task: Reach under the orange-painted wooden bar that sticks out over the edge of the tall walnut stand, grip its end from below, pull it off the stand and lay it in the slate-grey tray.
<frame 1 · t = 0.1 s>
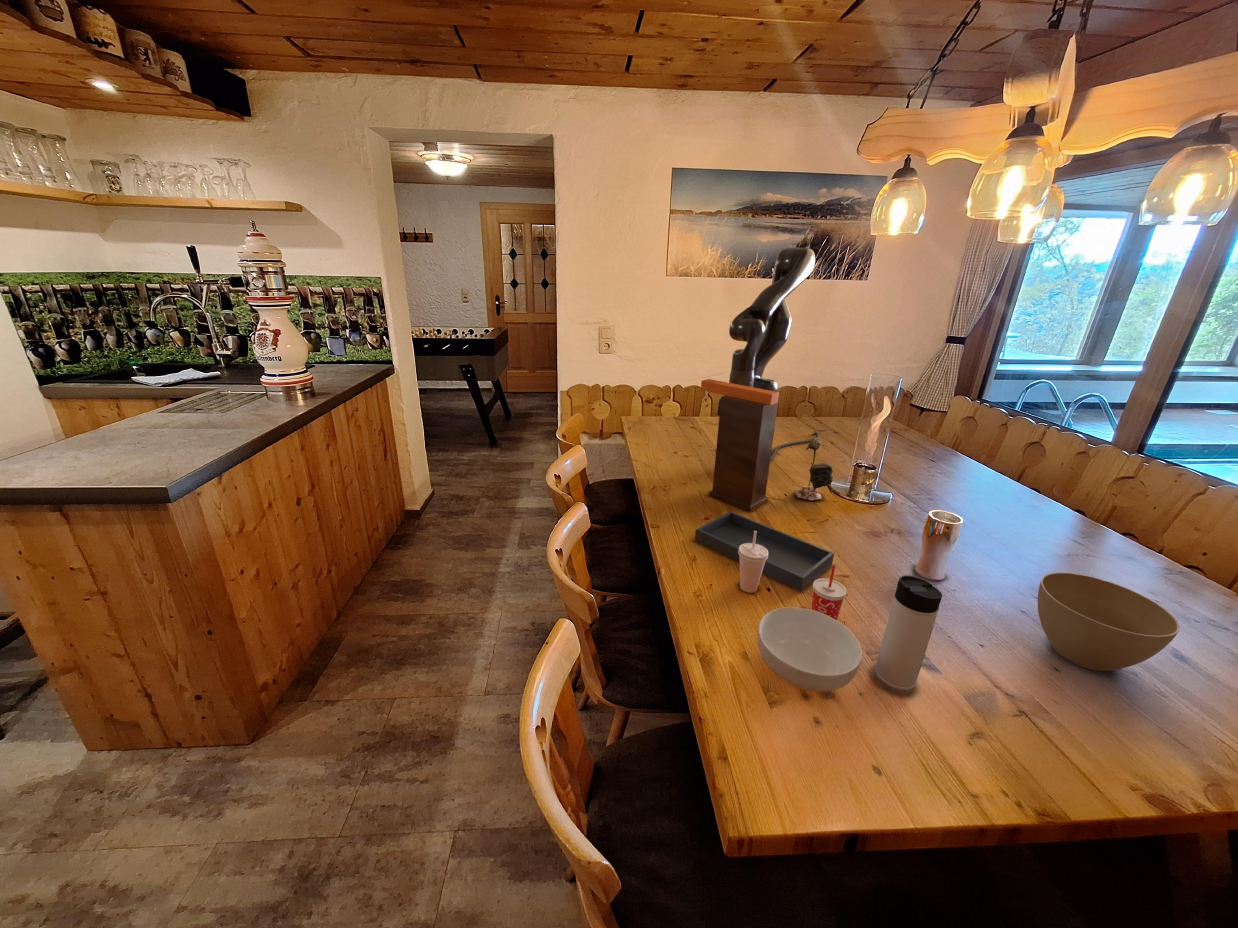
hand: (735, 432, 160), 17 cm above the table, tool pointing down, fingers open, 8 cm apart
travel mug: (892, 681, 85), on the table
orange bar: (737, 396, 144), point 32 cm above the table, touching stand
tray: (760, 553, 123), on the table
plant with pod: (811, 497, 155), on the table
cereal bowl: (802, 669, 87), on the table
stand: (737, 498, 153), on the table
beverage cup: (821, 625, 98), on the table
smoothie: (748, 588, 109), on the table
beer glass: (929, 573, 116), on the table
brown slanted bowl: (1081, 655, 91), on the table
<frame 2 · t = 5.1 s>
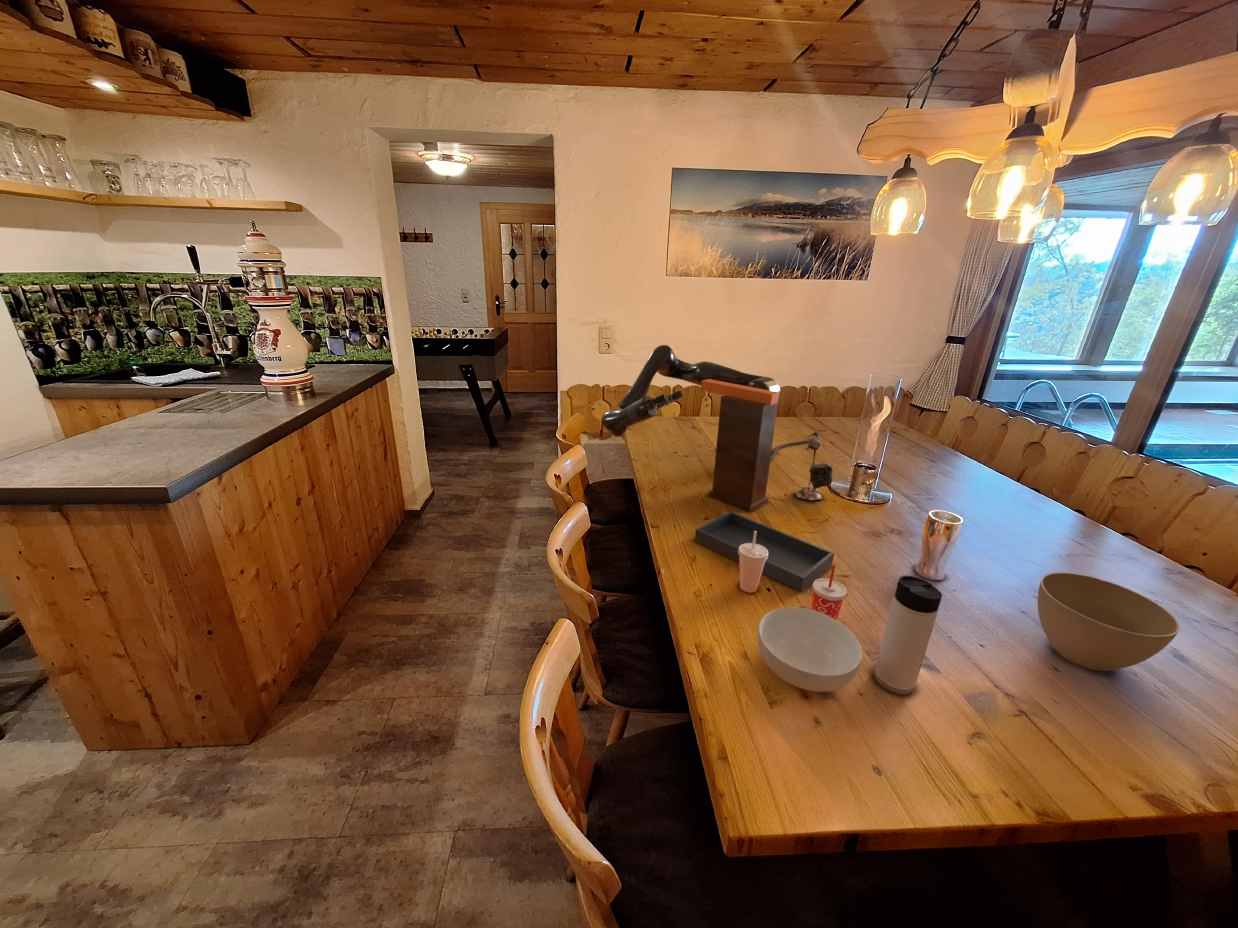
hand: (673, 395, 162), 28 cm above the table, tool pointing upward, fingers open, 8 cm apart
nothing on the table moved.
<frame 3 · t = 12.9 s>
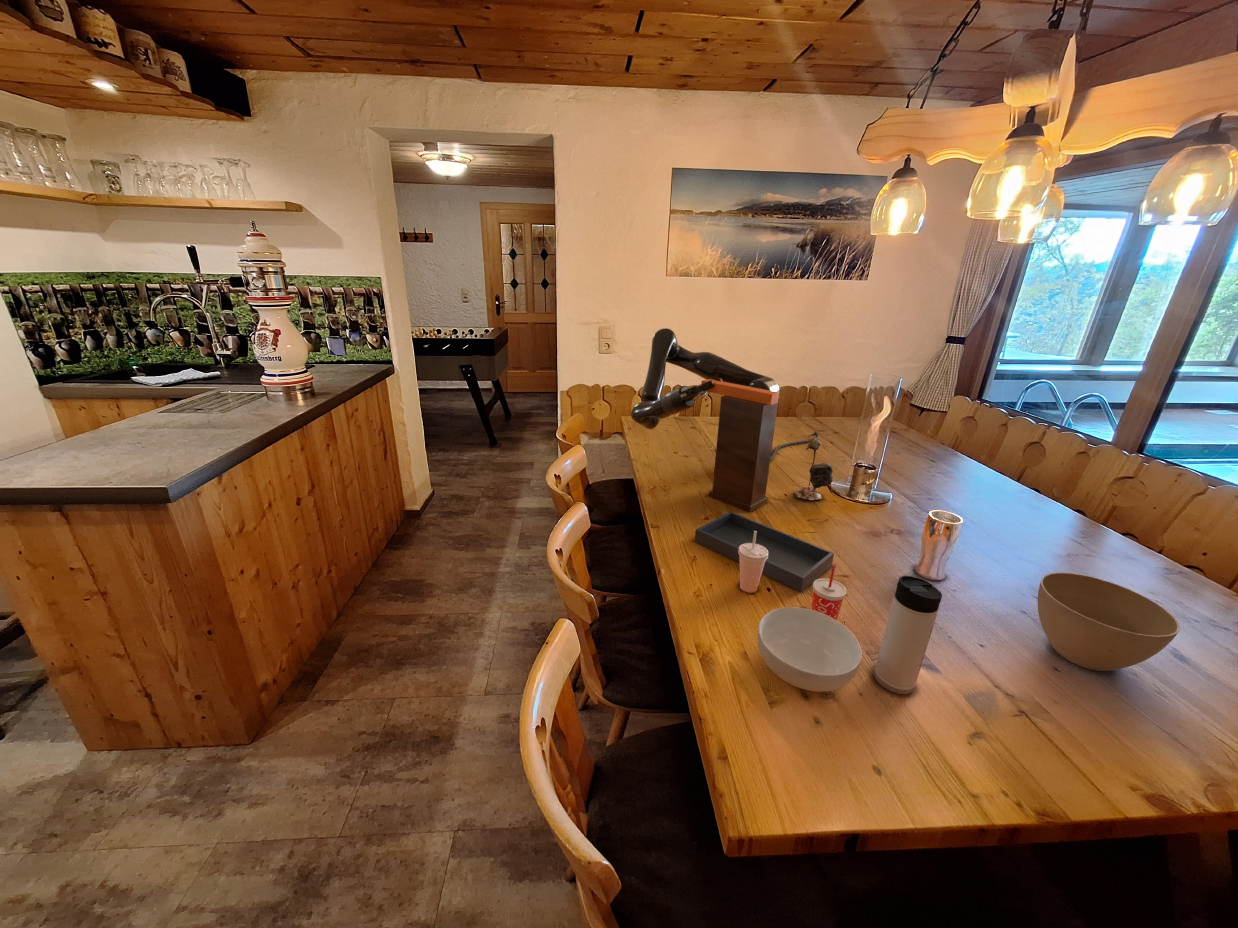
hand: (717, 382, 148), 35 cm above the table, tool pointing upward, fingers closed on orange bar, 4 cm apart
orange bar: (737, 396, 144), point 32 cm above the table, touching gripper, stand
everything else where it was.
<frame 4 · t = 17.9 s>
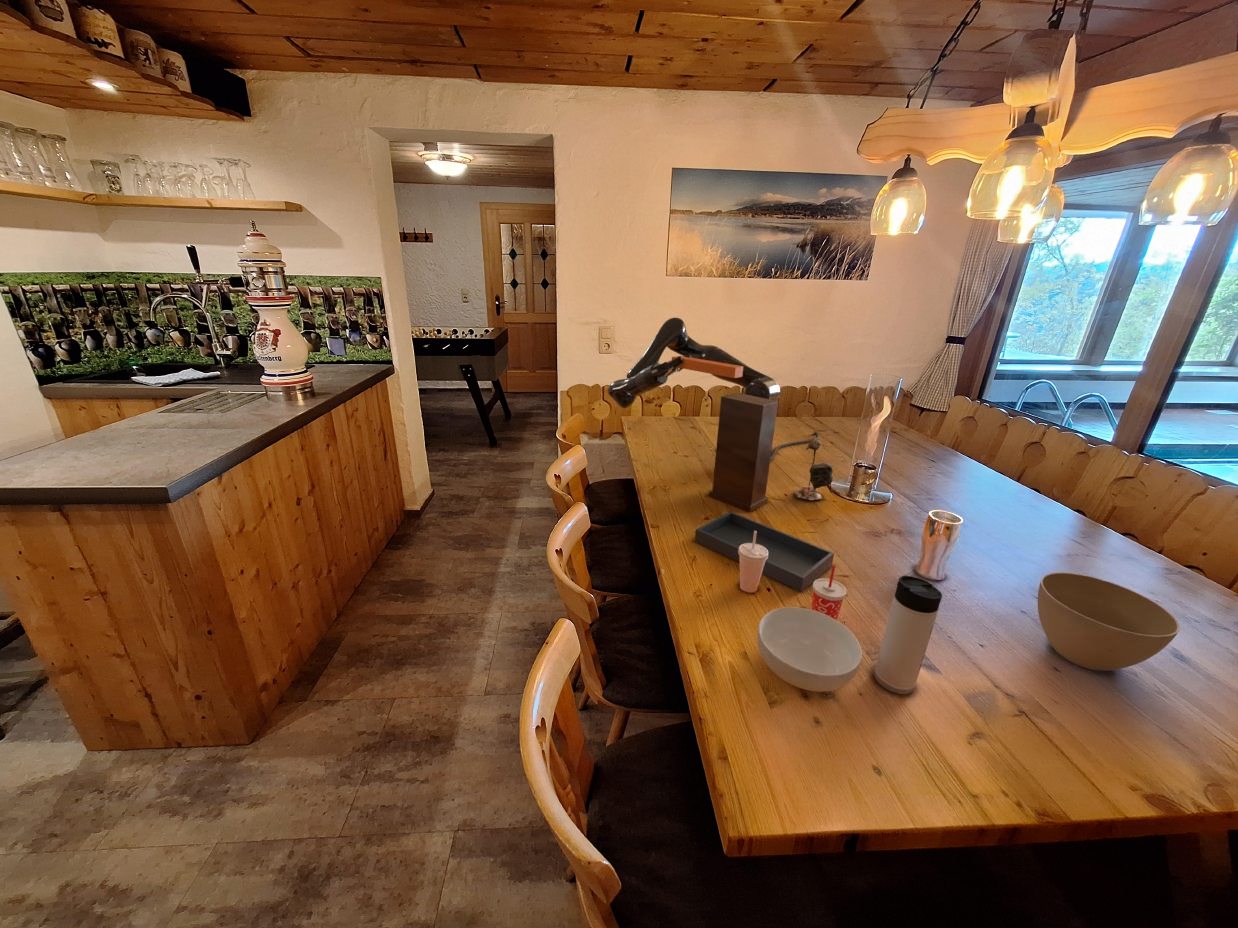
hand: (686, 358, 154), 41 cm above the table, tool pointing upward, fingers closed on orange bar, 4 cm apart
orange bar: (705, 371, 150), point 38 cm above the table, touching gripper
everything else where it was.
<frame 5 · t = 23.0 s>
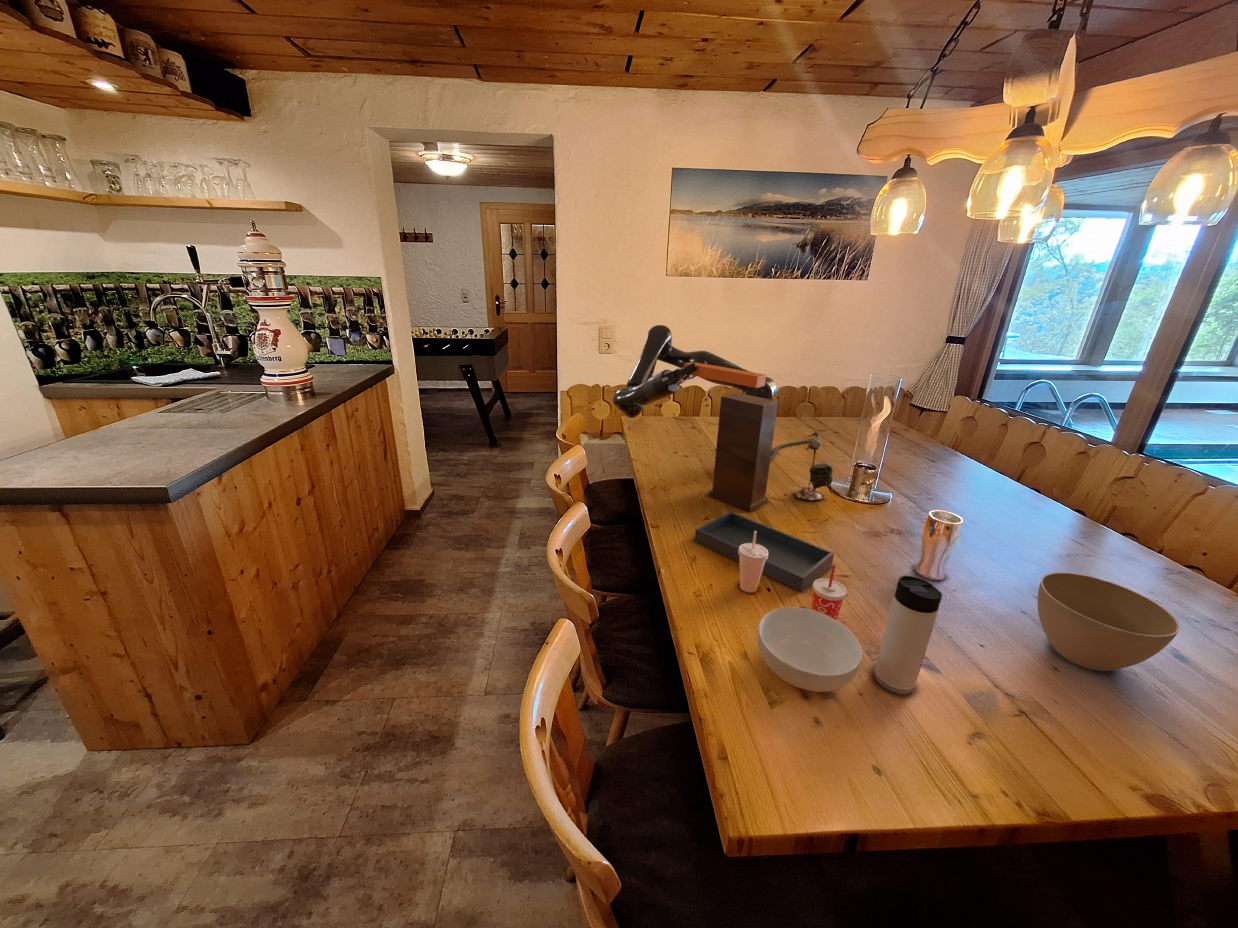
hand: (700, 365, 138), 41 cm above the table, tool pointing upward, fingers closed on orange bar, 4 cm apart
orange bar: (722, 379, 134), point 38 cm above the table, touching gripper
everything else where it was.
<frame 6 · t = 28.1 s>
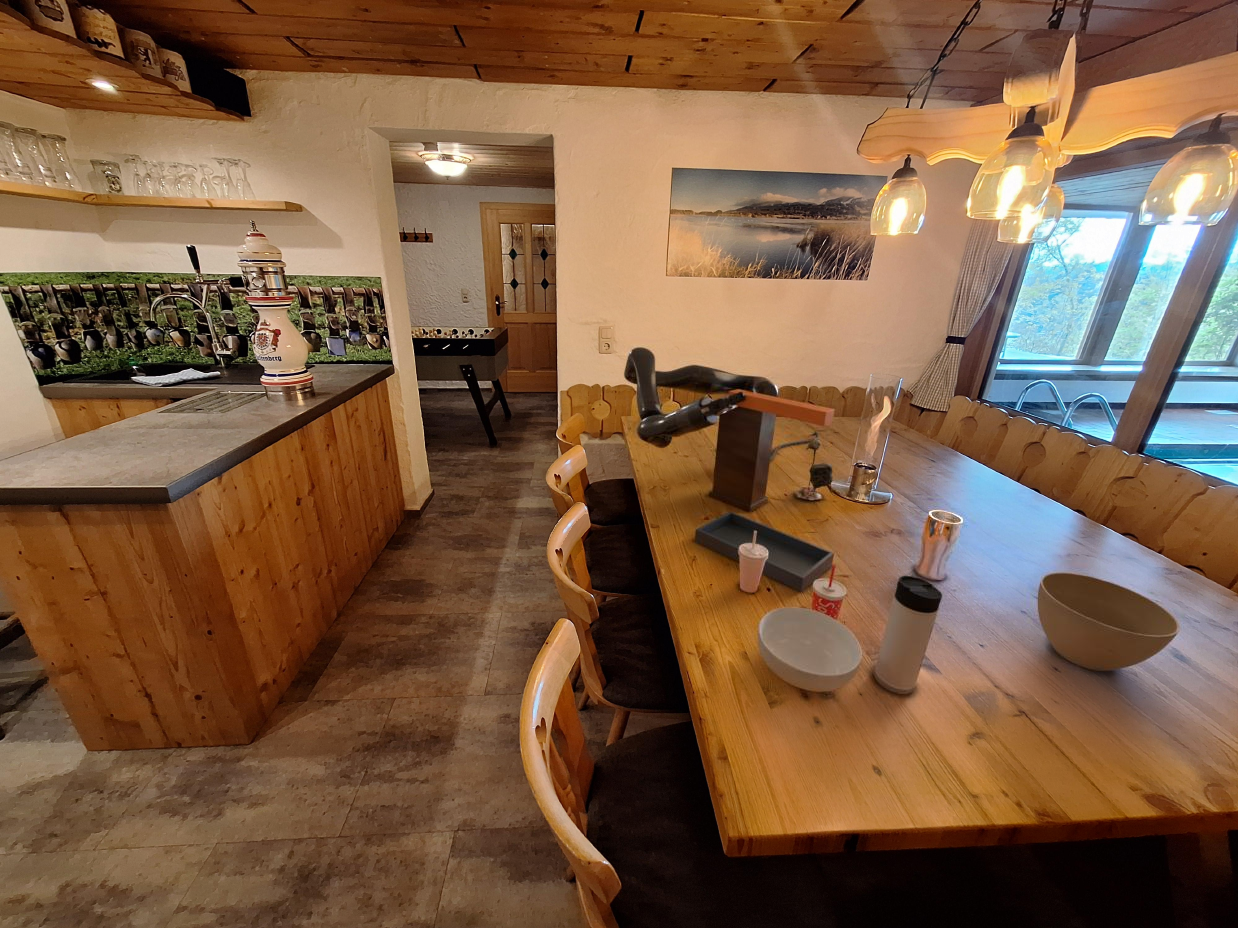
hand: (749, 394, 115), 39 cm above the table, tool pointing upward, fingers closed on orange bar, 4 cm apart
orange bar: (776, 412, 111), point 36 cm above the table, touching gripper
everything else where it was.
when the fingers open (22 cm above the table, at t = 33.0 s): orange bar drops 19 cm, resting on tray.
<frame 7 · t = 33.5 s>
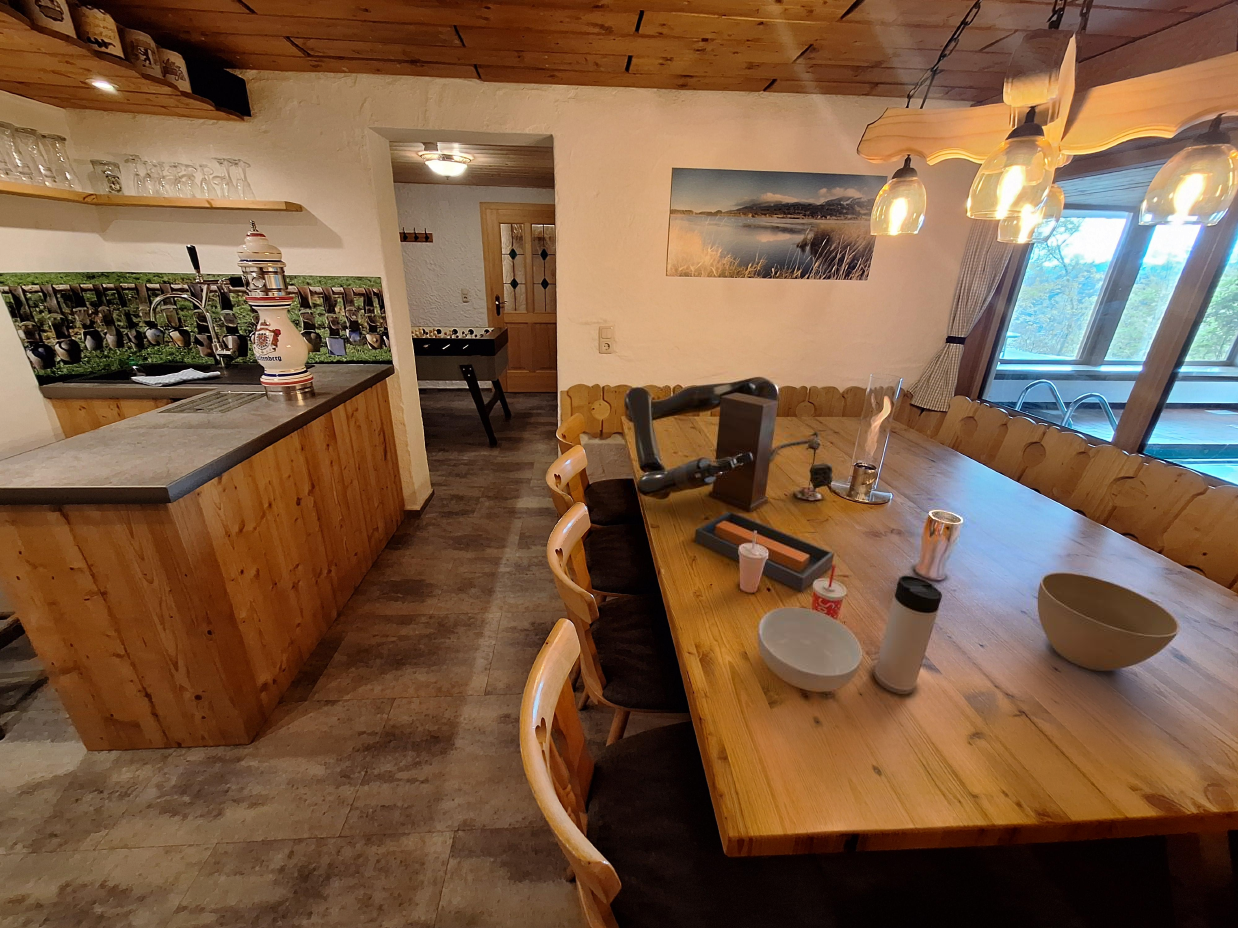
hand: (742, 460, 120), 23 cm above the table, tool pointing upward, fingers open, 8 cm apart
orange bar: (758, 549, 123), point 1 cm above the table, touching tray
everything else where it was.
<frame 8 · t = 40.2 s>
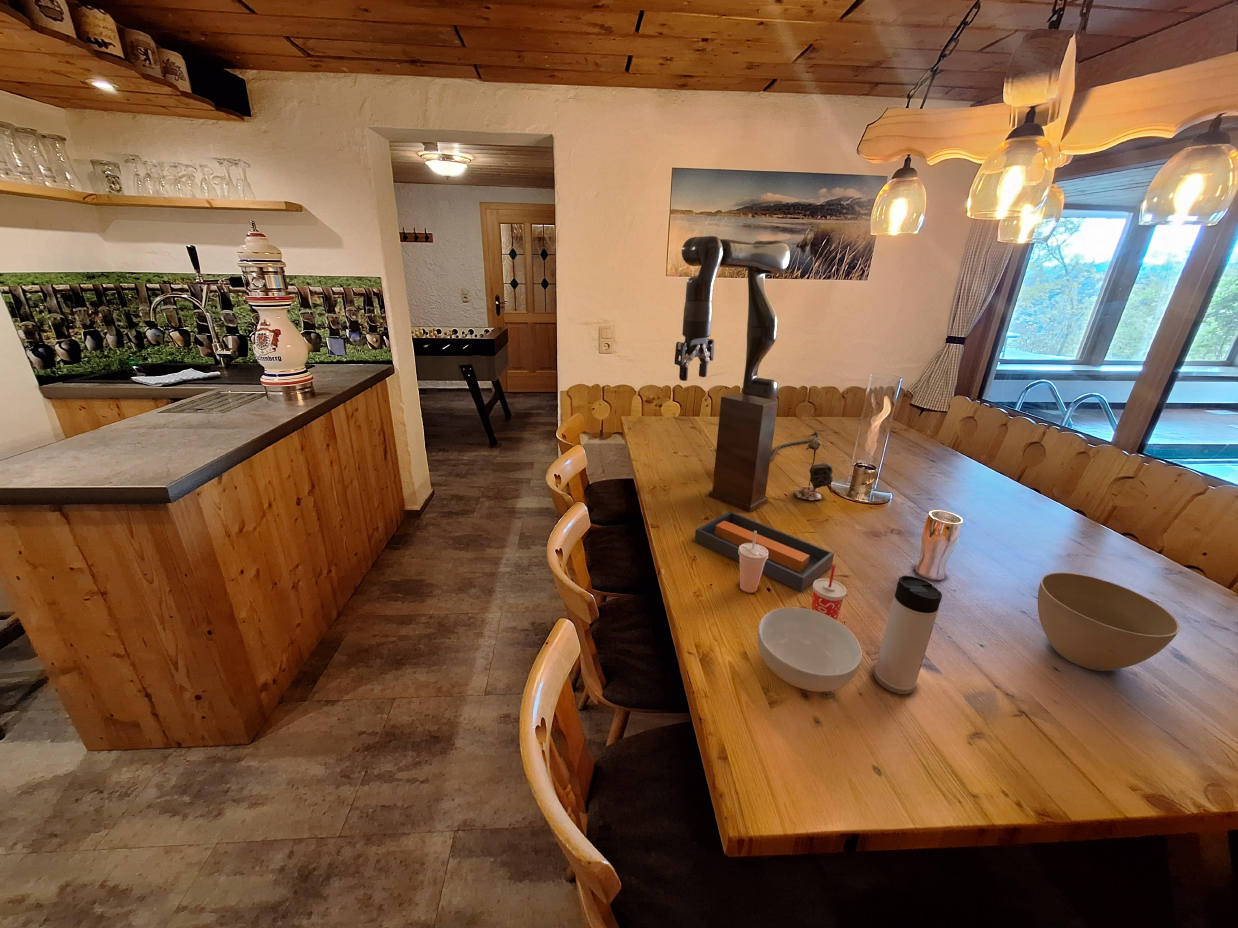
hand: (693, 378, 137), 38 cm above the table, tool pointing down, fingers open, 8 cm apart
nothing on the table moved.
at the end: orange bar inside the target area in the tray (0.7 cm from its centre), point 0.6 cm above the tray's base; the gripper is holding nothing; orange bar moved 46.4 cm from its start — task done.
